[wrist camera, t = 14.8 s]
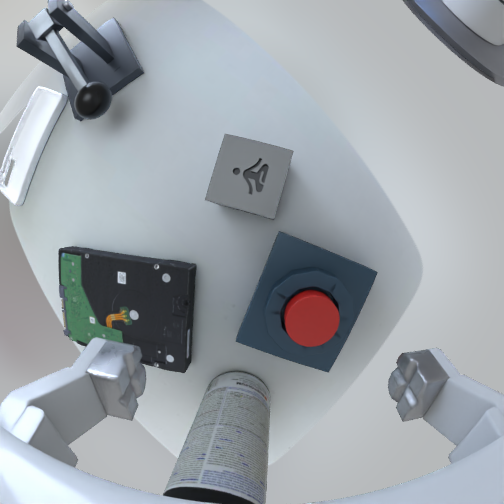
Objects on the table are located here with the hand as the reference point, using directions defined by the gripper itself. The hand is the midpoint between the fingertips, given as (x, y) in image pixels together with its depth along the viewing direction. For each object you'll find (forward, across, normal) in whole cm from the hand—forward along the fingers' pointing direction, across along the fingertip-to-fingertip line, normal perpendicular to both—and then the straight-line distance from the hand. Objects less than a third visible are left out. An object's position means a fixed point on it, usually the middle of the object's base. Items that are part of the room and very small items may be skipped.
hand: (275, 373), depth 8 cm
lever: (+16, +19, -16) cm, 29 cm away
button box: (+16, -4, +6) cm, 17 cm away
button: (+12, -4, +5) cm, 14 cm away
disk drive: (+17, +13, +8) cm, 23 cm away
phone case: (+22, +30, -9) cm, 39 cm away
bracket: (+23, +20, -18) cm, 35 cm away
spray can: (+14, +1, +17) cm, 22 cm away
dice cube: (+18, +1, -4) cm, 19 cm away
